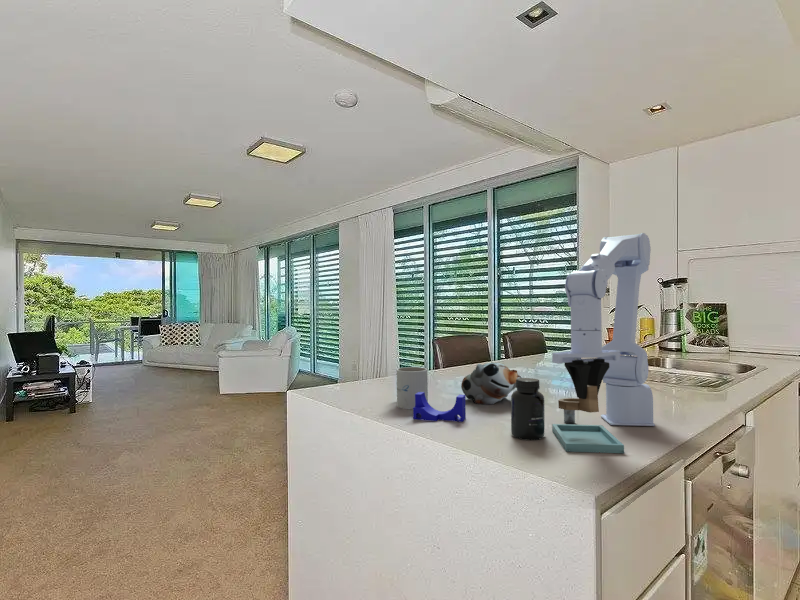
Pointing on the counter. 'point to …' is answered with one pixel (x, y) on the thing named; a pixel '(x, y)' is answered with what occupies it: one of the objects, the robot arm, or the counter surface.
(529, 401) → the supplement bottle
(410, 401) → the mug
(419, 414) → the blue curved cradle
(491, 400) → the lucky cat figurine
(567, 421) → the grey cylinder and bar
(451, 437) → the counter surface
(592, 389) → the ring
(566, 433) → the tray
